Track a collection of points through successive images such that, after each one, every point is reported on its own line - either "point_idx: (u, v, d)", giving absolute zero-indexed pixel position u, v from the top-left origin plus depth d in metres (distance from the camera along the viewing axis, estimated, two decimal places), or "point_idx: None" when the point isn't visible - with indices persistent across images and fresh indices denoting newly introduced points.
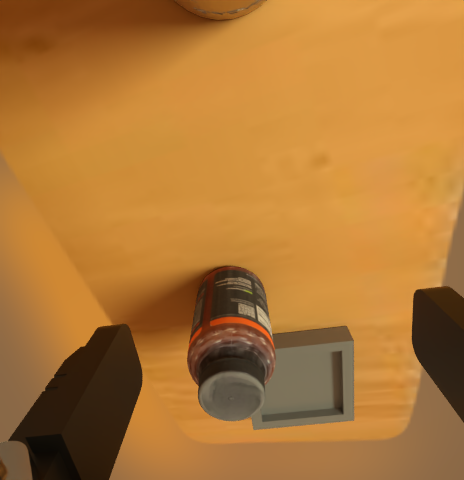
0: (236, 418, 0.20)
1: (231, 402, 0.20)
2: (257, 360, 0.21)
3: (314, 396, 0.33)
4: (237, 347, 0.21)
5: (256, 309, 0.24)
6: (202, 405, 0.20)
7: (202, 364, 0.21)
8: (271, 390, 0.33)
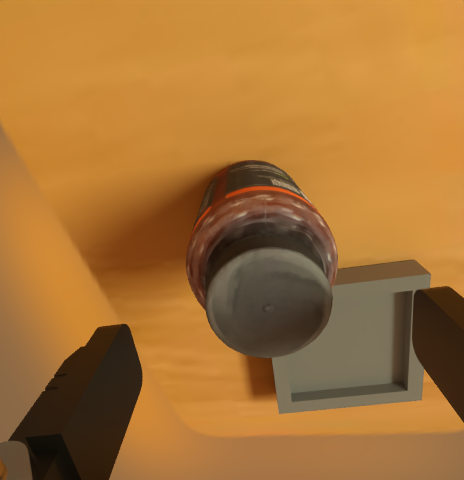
0: (276, 351, 0.11)
1: (268, 316, 0.10)
2: (312, 249, 0.11)
3: (365, 365, 0.24)
4: (276, 224, 0.11)
5: (299, 191, 0.15)
6: (213, 323, 0.11)
7: (213, 257, 0.12)
8: (305, 356, 0.23)
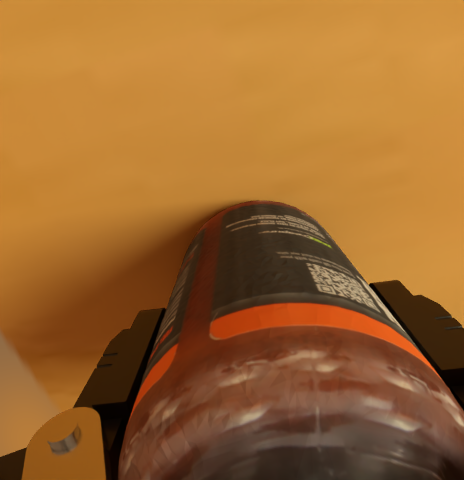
0: None
1: None
2: None
3: None
4: (350, 451, 0.04)
5: (364, 286, 0.07)
6: None
7: None
8: None
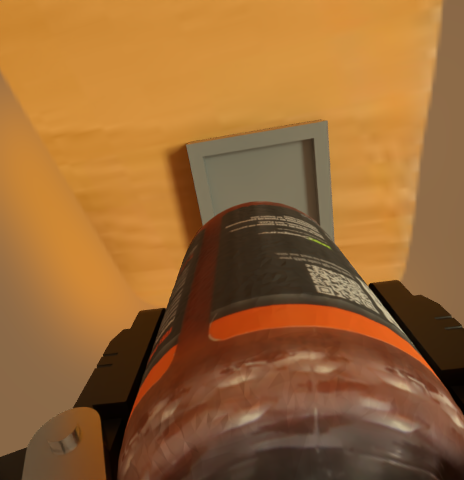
0: None
1: None
2: None
3: None
4: (348, 452, 0.04)
5: (362, 287, 0.07)
6: None
7: None
8: None
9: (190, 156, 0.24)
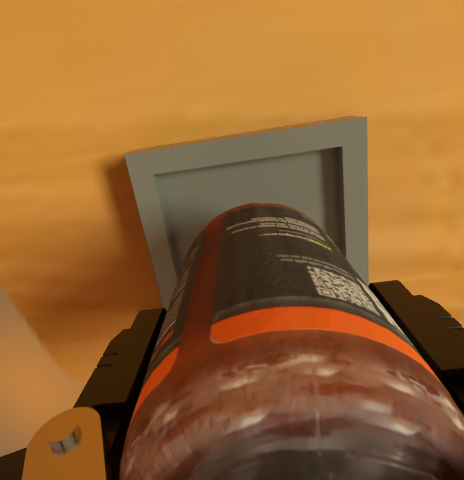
0: None
1: None
2: None
3: None
4: (350, 454, 0.04)
5: (364, 289, 0.07)
6: None
7: None
8: None
9: (132, 174, 0.14)
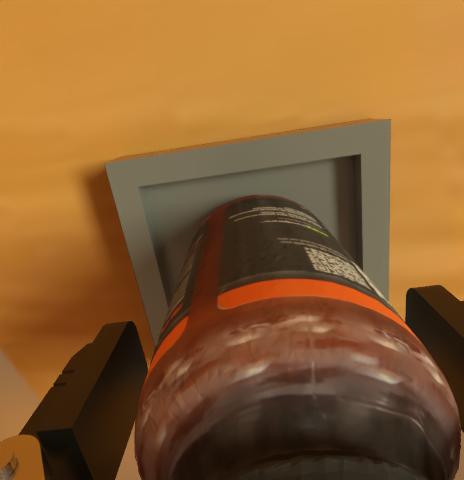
0: None
1: None
2: (429, 459, 0.05)
3: None
4: (341, 399, 0.05)
5: (357, 269, 0.08)
6: None
7: (185, 473, 0.05)
8: None
9: (114, 186, 0.12)
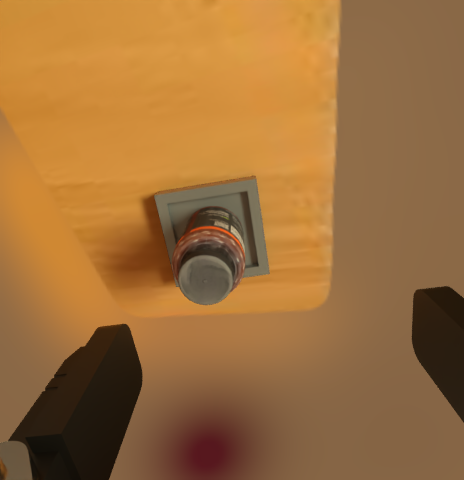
0: (210, 301, 0.25)
1: (205, 284, 0.24)
2: (227, 256, 0.25)
3: None
4: (211, 244, 0.25)
5: (230, 227, 0.28)
6: (181, 288, 0.24)
7: (183, 260, 0.25)
8: None
9: (157, 203, 0.33)
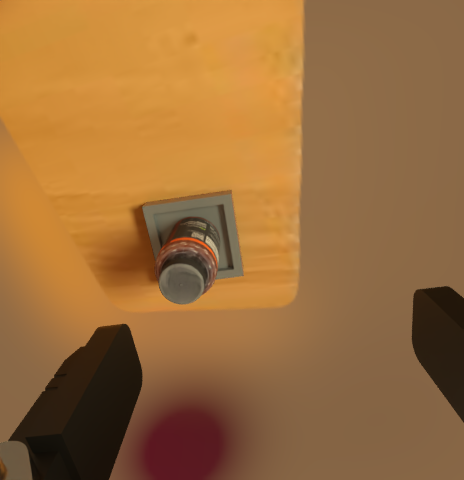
0: (185, 301, 0.29)
1: (181, 287, 0.29)
2: (201, 263, 0.30)
3: None
4: (187, 254, 0.30)
5: (205, 237, 0.33)
6: (161, 290, 0.29)
7: (163, 266, 0.30)
8: None
9: (145, 213, 0.38)
